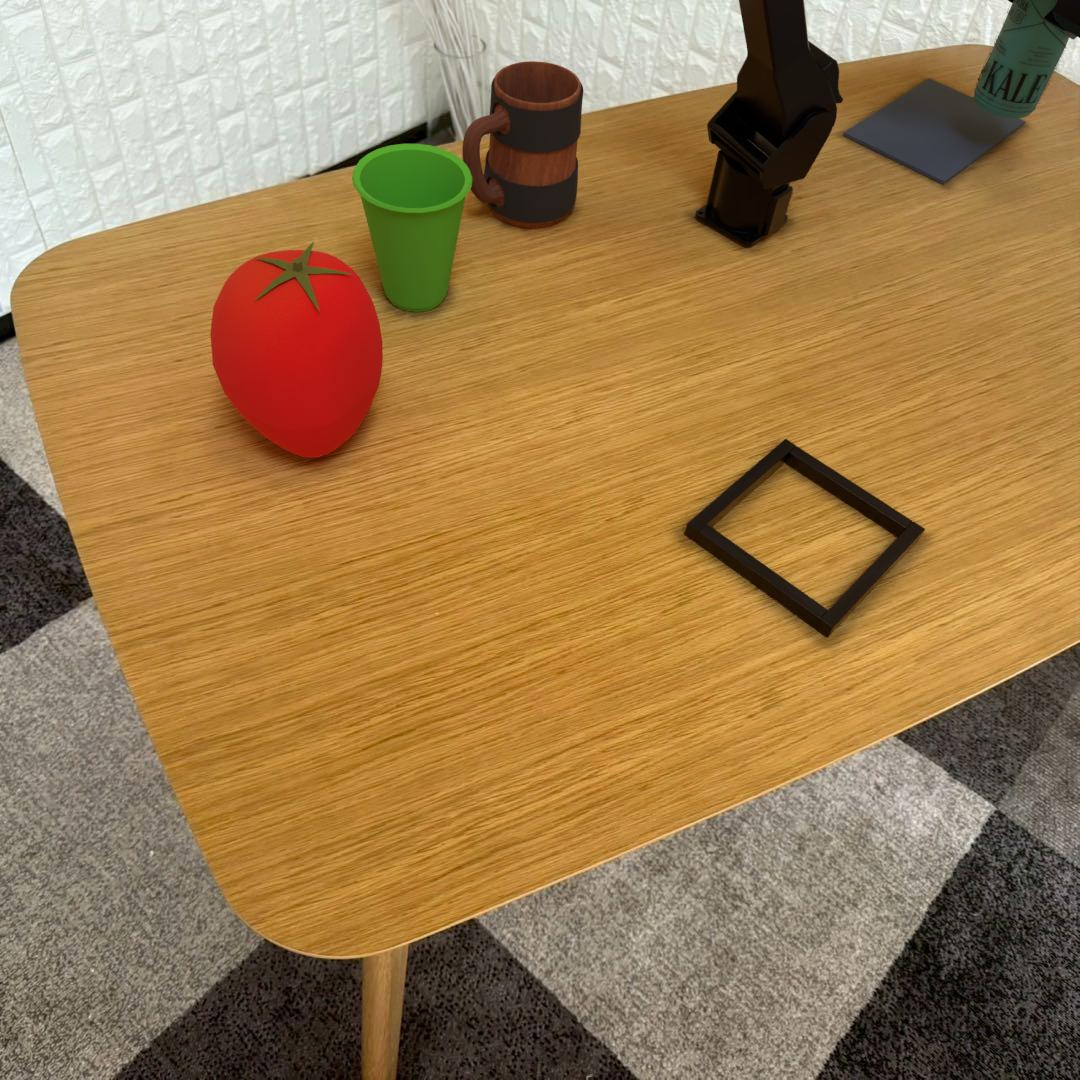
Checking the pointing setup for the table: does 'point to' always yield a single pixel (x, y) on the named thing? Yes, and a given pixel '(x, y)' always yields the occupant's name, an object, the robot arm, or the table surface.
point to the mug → (528, 144)
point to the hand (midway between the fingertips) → (1050, 19)
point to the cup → (413, 218)
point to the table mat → (933, 130)
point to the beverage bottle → (1020, 61)
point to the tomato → (298, 348)
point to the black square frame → (771, 581)
